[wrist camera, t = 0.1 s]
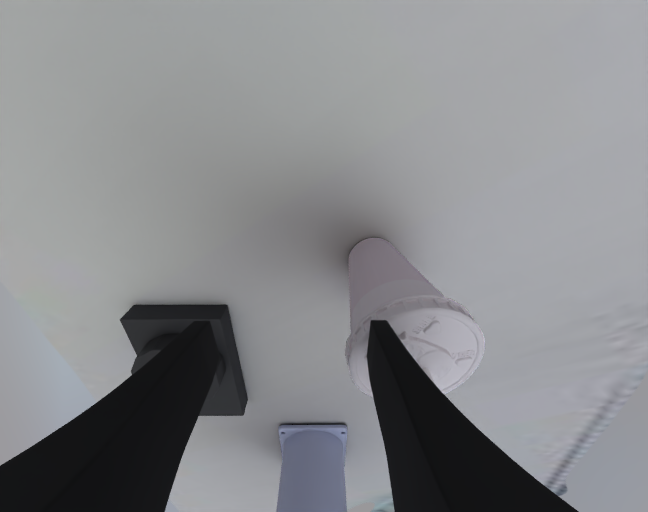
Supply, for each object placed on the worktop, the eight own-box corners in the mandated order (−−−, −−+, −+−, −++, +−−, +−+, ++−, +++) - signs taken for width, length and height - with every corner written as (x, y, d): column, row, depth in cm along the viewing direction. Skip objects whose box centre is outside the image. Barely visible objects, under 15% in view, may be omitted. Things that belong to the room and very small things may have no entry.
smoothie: (358, 305, 23) (417, 532, 11) (314, 251, 20) (325, 473, 8) (426, 266, 21) (588, 479, 9) (389, 203, 19) (548, 384, 6)
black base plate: (247, 399, 29) (239, 433, 26) (174, 399, 29) (156, 433, 26) (227, 304, 23) (212, 335, 20) (133, 304, 23) (103, 335, 20)
